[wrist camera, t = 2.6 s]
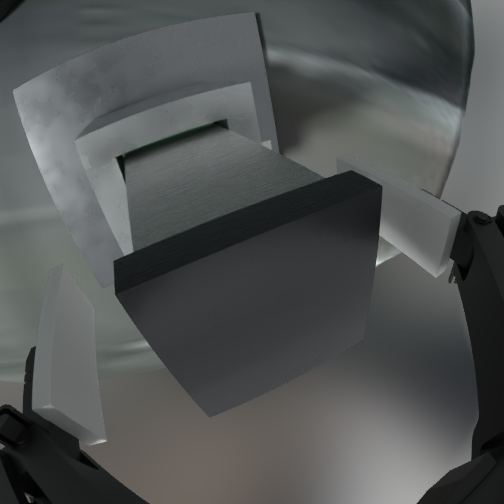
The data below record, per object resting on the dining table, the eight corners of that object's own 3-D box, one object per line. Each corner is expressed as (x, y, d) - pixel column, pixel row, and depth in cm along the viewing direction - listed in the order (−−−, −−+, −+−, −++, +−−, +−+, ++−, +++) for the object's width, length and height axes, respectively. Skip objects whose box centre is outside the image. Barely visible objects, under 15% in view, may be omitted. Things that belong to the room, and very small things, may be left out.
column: (117, 131, 21) (115, 294, 5) (188, 106, 23) (382, 185, 7) (140, 195, 25) (209, 417, 9) (205, 171, 27) (363, 338, 10)
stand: (16, 90, 16) (-43, 99, 7) (249, 14, 21) (320, -12, 12) (102, 281, 29) (107, 362, 21) (282, 208, 34) (342, 259, 26)
